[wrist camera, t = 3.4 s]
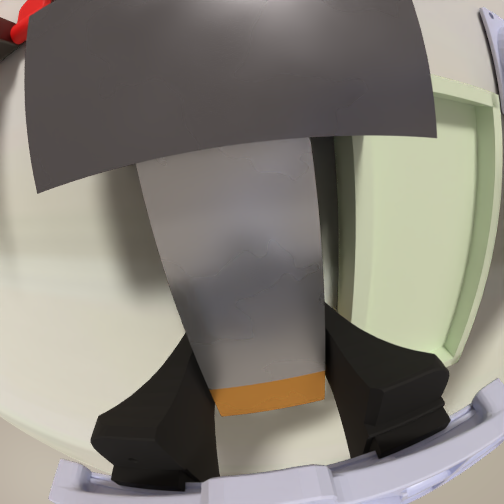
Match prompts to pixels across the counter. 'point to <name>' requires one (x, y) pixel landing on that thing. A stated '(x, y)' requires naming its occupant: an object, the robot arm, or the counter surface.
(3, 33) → the tow hook
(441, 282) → the tray
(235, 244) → the pin
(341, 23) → the bracket
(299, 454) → the counter surface
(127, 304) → the counter surface
